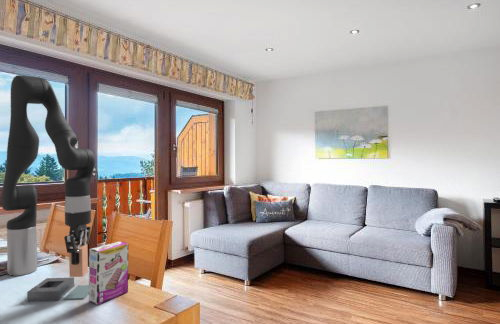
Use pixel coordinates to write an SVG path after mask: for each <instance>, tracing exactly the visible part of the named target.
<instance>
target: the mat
mask: <svg viewBox="0 0 500 324" xmlns="http://www.w3.org/2000/svg"><path fill="white" fill-rule="evenodd" d="M87 296H89V284H82V285H77V286H76V287H75V288H74V289H73V290H71V291H70V292H69V293H68V294H67V295H66V296H65V297H63V300H64V301H65V300H66V301H67V300H69V301H70V300H84V299H85V298H86V297H87Z"/></svg>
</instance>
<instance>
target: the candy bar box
mask: <svg viewBox="0 0 500 324" xmlns="http://www.w3.org/2000/svg"><path fill="white" fill-rule="evenodd" d="M88 250H89V251H88V285H89V294H88V302H90V303H92V304H94V305H97V306H99V305H101V304H104V303H105V302H108V301H111V300H113V299H116V298H117V297H120V296H122V295H124V294H126V293H129V243H127V242H123V241H115V242H112V243H109V244H108V243H107V244H104V245H101V246H95V247H93V248H89V249H88Z"/></svg>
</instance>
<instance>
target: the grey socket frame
mask: <svg viewBox="0 0 500 324" xmlns="http://www.w3.org/2000/svg"><path fill="white" fill-rule="evenodd" d="M74 287H75V277H48V278H47V277H45V279H43V280H42V281H40V282H39V283H38V284H36V285H35V286H33V287H32V288H30V289H29V290H28V291H27V292H26V296H27V297H26V300H27V301H26V302H29V303H30V302H57V301H60V300H61V298H62V297H63V298H64V296H65V295H66V294H67V293H68V292H69V291H70V290H71V289H72V288H74Z"/></svg>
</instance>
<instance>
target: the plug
mask: <svg viewBox="0 0 500 324" xmlns="http://www.w3.org/2000/svg"><path fill="white" fill-rule="evenodd" d="M76 248H77V245H76ZM88 250H89V249H88V244H87V245H81V246H80V250H79V264H77V265H72V264H71V253H68V254H69V255H68V256H69V257H68V258H69V260H68V261H69V262H68V263H69V269H68V270H69V278H72V277H74V278H83V277H84V276H86V274H88V273H89V251H88Z"/></svg>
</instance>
